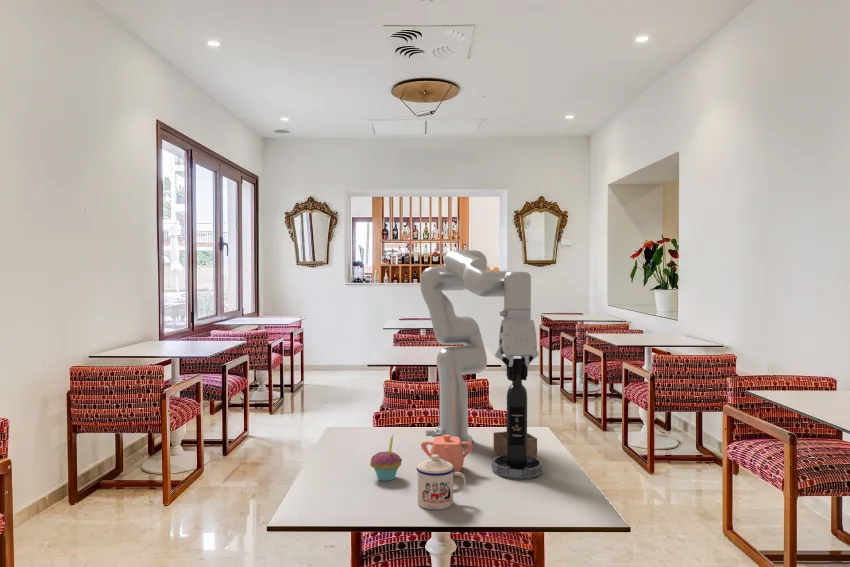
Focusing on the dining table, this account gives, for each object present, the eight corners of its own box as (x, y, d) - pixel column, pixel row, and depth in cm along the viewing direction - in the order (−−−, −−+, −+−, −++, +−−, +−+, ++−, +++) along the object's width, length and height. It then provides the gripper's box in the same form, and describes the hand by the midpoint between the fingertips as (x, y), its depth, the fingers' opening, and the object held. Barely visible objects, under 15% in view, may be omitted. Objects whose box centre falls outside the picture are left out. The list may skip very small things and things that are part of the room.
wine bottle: (526, 468, 160) (527, 360, 159) (506, 467, 160) (506, 360, 160) (526, 461, 165) (527, 357, 165) (506, 460, 166) (507, 357, 166)
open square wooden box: (506, 461, 172) (506, 441, 171) (493, 451, 181) (493, 432, 181) (537, 458, 174) (537, 438, 174) (522, 448, 184) (522, 430, 184)
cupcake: (406, 474, 159) (406, 431, 159) (394, 485, 151) (394, 439, 151) (377, 471, 162) (377, 429, 162) (364, 481, 154) (364, 436, 154)
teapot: (415, 467, 165) (415, 432, 165) (447, 460, 172) (447, 426, 172) (445, 482, 154) (445, 444, 154) (479, 473, 161) (479, 437, 161)
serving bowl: (504, 481, 154) (504, 472, 154) (484, 465, 167) (484, 456, 167) (551, 476, 158) (551, 467, 158) (528, 461, 171) (528, 452, 171)
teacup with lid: (418, 511, 134) (418, 461, 134) (414, 497, 143) (414, 450, 143) (469, 509, 135) (469, 460, 135) (462, 494, 144) (462, 448, 144)
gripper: (496, 316, 156) (495, 383, 157) (549, 315, 161) (549, 380, 161) (485, 314, 164) (485, 379, 164) (537, 313, 168) (536, 376, 169)
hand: (517, 379), depth 163 cm, fingers closed on wine bottle, 3 cm apart
